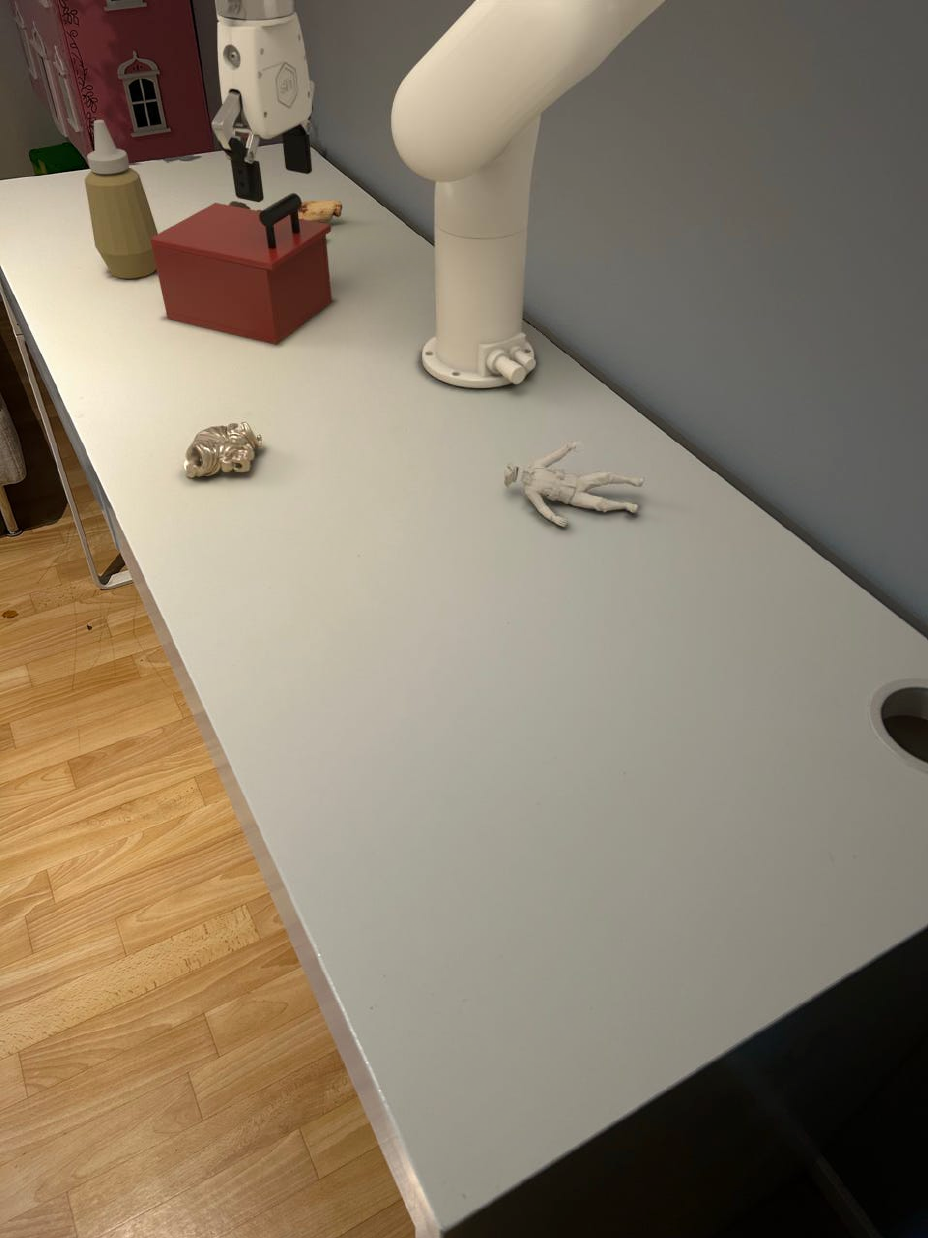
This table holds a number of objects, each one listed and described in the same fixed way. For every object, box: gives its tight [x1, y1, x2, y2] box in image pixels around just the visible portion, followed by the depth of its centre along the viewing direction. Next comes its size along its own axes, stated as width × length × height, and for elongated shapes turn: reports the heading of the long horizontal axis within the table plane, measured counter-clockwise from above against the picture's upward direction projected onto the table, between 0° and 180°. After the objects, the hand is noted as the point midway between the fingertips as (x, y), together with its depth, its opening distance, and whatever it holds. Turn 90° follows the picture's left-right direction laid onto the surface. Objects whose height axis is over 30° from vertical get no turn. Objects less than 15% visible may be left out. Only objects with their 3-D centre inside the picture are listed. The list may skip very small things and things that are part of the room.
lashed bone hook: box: [228, 199, 343, 224], centre depth 130 cm, size 9×5×18 cm
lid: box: [150, 192, 332, 271], centre depth 107 cm, size 16×13×5 cm
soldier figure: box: [503, 440, 645, 527], centre depth 85 cm, size 8×5×12 cm
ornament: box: [183, 421, 263, 478], centre depth 89 cm, size 8×7×4 cm
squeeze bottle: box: [84, 119, 159, 279], centre depth 117 cm, size 8×8×18 cm
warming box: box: [152, 234, 333, 346], centre depth 112 cm, size 16×13×9 cm
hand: (275, 184), depth 102 cm, fingers open, 9 cm apart
